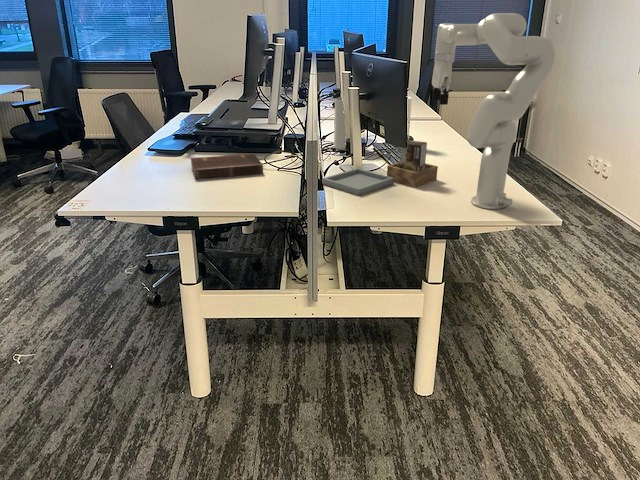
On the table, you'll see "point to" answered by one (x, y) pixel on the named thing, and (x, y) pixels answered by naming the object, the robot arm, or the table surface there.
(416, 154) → the coffee box
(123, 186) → the table surface
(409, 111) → the cylindrical container
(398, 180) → the walnut sleeve
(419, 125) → the table surface
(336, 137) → the cylinder vase
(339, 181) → the slate tray
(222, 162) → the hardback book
